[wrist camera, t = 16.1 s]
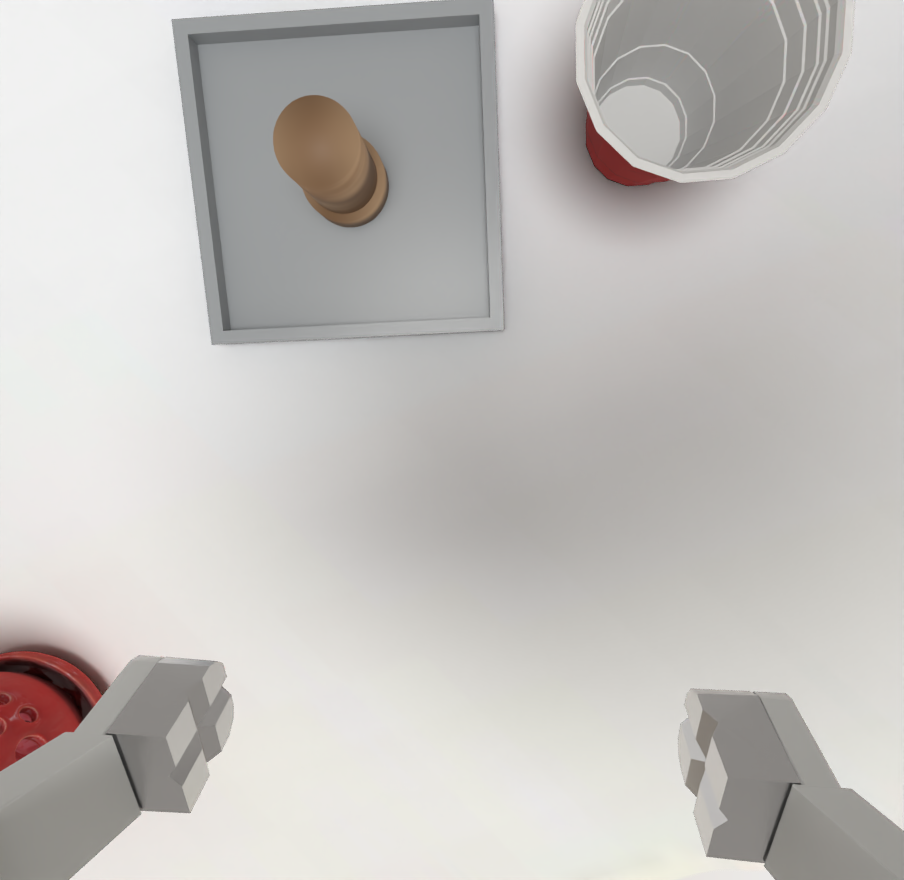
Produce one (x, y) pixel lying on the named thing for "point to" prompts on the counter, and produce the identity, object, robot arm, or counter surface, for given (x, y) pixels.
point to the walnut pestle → (330, 161)
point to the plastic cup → (704, 82)
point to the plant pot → (39, 702)
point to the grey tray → (397, 143)
